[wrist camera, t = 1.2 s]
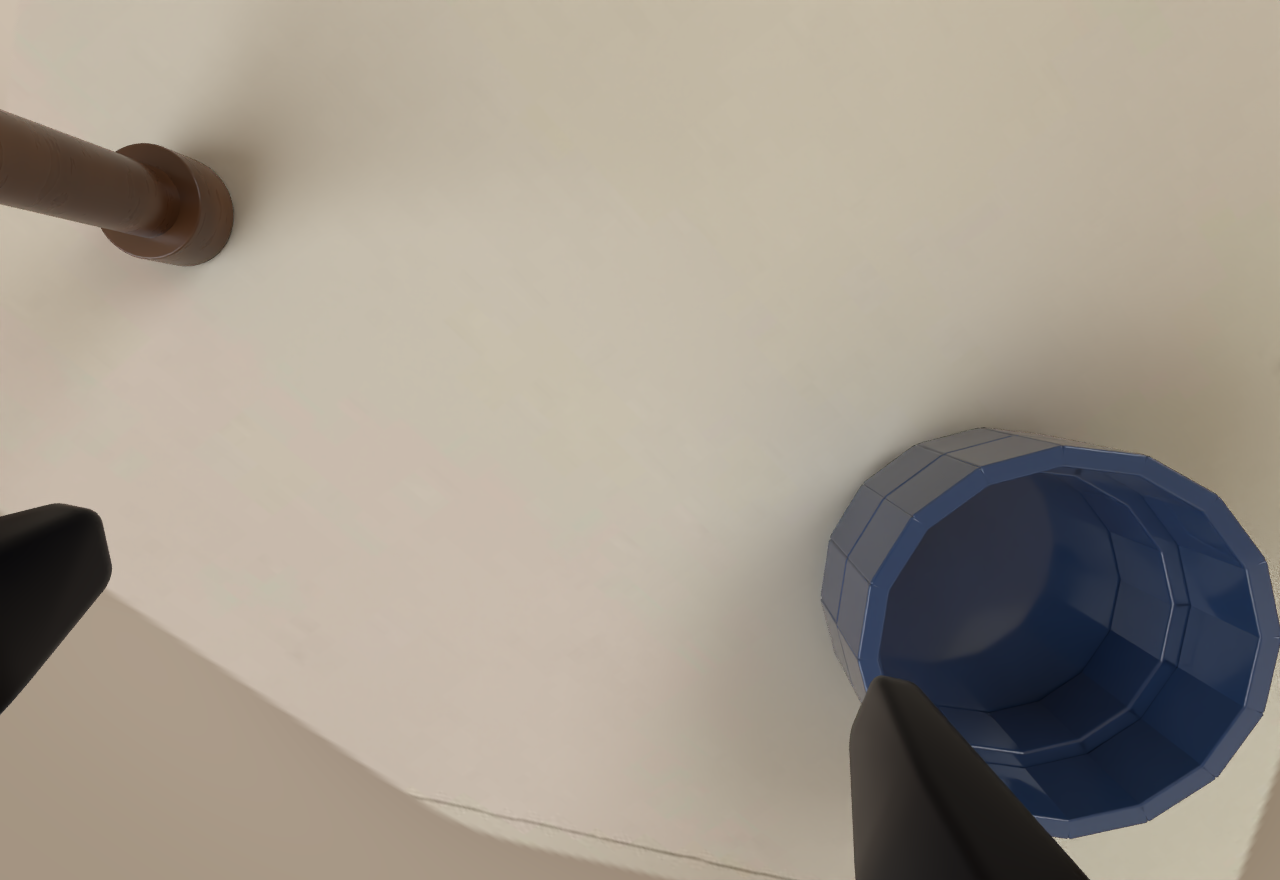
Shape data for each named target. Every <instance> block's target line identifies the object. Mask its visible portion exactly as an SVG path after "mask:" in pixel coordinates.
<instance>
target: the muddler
mask: <svg viewBox="0 0 1280 880" xmlns="http://www.w3.org/2000/svg"><path fill="white" fill-rule="evenodd" d="M0 204H1V205H6V206H10V207H14V208H19V209H23V210H27V211H32V212H36V213H40V214H44V215H49V216H53V217H57V218H62V219H66V220H70V221H75V222H79V223H83V224H88V225H92V226H96V227H101V229H102V231H103V232H104V234H105V235H106V236H107V238H108V239H109V240H110V241H111V242H112V243H113V244H114V245H115V246H117V247H118V248H119V249H120V250H122V251H124V252H125V253H127V254H129V255H131V256H134V257H137V258H141V259H147V260H152V261H157V262H162V263H167V264H173V265H178V266H194V265H198V264H201V263H204V262H206V261H208V260H210V259H211V258H213V257H214V256H215V255H217V254H218V253H219V252H220V251H221V250H222V248H223V247H224V245H225V244H226V242H227V240H228V239H229V236H230V233H231V230H232V226H233V206H232V201H231V197H230V195H229V192H228V190H227V188H226V186H225V185H224V183H223V182H222V180H221V179H220V178H219V177H218V175H217V174H216V173H215V172H214V171H212V170H211V169H210V168H209V167H207V166H206V165H204V164H202V163H200V162H198V161H196V160H193V159H191V158H188V157H186V156H184V155H181V154H179V153H176V152H174V151H172V150H169V149H167V148H164V147H162V146H159V145H155V144H149V143H140V144H133V145H129V146H126V147H123V148H121V149H119V150H118V151H116V152H114V151H111V150H108V149H106V148H103V147H100V146H98V145H95V144H92V143H89V142H87V141H84V140H81V139H79V138H76V137H73V136H71V135H68V134H65V133H63V132H60V131H57V130H55V129H52V128H49V127H46V126H44V125H41V124H38V123H36V122H33V121H30V120H28V119H25V118H22V117H20V116H17V115H14V114H12V113H9V112H6V111H3V110H1V109H0Z"/></svg>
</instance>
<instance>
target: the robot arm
mask: <svg viewBox="0 0 1280 880" xmlns="http://www.w3.org/2000/svg"><path fill="white" fill-rule="evenodd" d="M111 573H112V564H111V559H110V555H109V550H108V546H107V541H106V536H105V532H104V527H103V523H102V520H101V518H100V516H99V515H98V514H97V513H96V512H94V511H93V510H91V509H87V508H82V507H77V506H73V505H68V504H60V503H57V504H49V505H45V506H41V507H37V508H33V509H29V510H25V511H21V512H17V513H13V514H9V515H5V516H1V517H0V714H1V713H2V712H3V711H4V710H5V709H6V708H7V707H8V705H10V704H11V702H12V701H13V700H14V699H15V698H16V697H17V695H18V694H19V693H20V692H21V691H22V690H23V688H24V687H25V686H26V685H27V684H28V683H29V681H30V680H31V679H32V678H33V676H34V675H35V674H36V673H37V671H38V670H39V669H40V668H41V667H42V665H43V664H44V663H45V661H46V660H47V659H48V658H49V657H50V655H51V654H52V653H53V652H54V651H55V649H56V648H57V647H58V646H59V645H60V643H61V642H62V641H63V640H64V638H65V637H66V636H67V635H68V633H69V632H70V631H71V630H72V628H73V627H74V626H75V625H76V624H77V622H78V621H79V620H80V619H81V618H82V616H83V615H84V614H85V612H86V611H87V610H88V609H89V608H90V607H91V605H92V604H93V603H94V601H95V600H96V599H97V598H98V597H99V595H100V594H101V593H102V592H103V591H104V589H105V588H106V586H107V584H108V582H109V580H110V577H111ZM849 752H850V774H851V797H852V819H853V841H854V864H855V879H856V880H1090V879H1089V878H1088V877H1087V876H1086V875H1085V874H1084V873H1083V871H1082V870H1081V869H1080V868H1079V867H1078V866H1077V865H1076V864H1075V862H1074V861H1073V860H1072V859H1071V858H1070V857H1069V856H1068V855H1067V853H1066V852H1065V851H1064V850H1063V849H1062V848H1061V847H1060V846H1059V844H1058V843H1057V842H1056V841H1055V840H1054V839H1053V838H1052V837H1051V835H1050V834H1049V833H1048V832H1047V831H1046V830H1045V829H1044V828H1043V826H1042V825H1041V824H1040V823H1039V822H1038V821H1037V820H1036V818H1035V817H1034V816H1033V815H1032V814H1031V813H1030V812H1029V811H1028V809H1027V808H1026V807H1025V806H1024V805H1023V804H1022V803H1021V802H1020V800H1019V799H1018V798H1017V797H1016V796H1015V795H1014V794H1013V793H1012V791H1011V790H1010V789H1009V788H1008V787H1007V786H1006V785H1005V784H1004V782H1003V781H1002V780H1001V779H1000V778H999V777H998V776H997V775H996V773H995V772H994V771H993V770H992V769H991V768H990V767H989V766H988V764H987V763H986V762H985V761H984V760H983V759H982V758H981V757H980V755H979V754H978V753H977V752H976V751H975V750H974V749H973V748H972V746H971V745H970V744H969V743H968V742H967V741H966V740H965V739H964V737H963V736H962V735H961V734H960V733H959V732H958V731H957V730H956V728H955V727H954V726H953V725H952V724H951V723H950V722H949V721H948V719H947V718H946V717H945V716H944V715H943V714H942V713H941V712H940V710H939V709H938V708H937V707H936V706H935V705H934V704H933V703H932V701H931V700H930V699H929V698H928V697H927V696H926V695H925V694H924V692H923V691H922V690H921V689H920V688H919V687H918V686H917V685H916V684H914V683H913V682H910V681H907V680H903V679H898V678H893V677H888V676H883V675H880V676H877V677H875V678H874V679H873V680H872V682H871V683H870V685H869V688H868V690H867V692H866V695H865V697H864V699H863V702H862V704H861V706H860V709H859V711H858V713H857V716H856V718H855V720H854V723H853V725H852V729H851V733H850V742H849Z"/></svg>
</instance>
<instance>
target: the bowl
mask: <svg viewBox="0 0 1280 880" xmlns="http://www.w3.org/2000/svg"><path fill="white" fill-rule="evenodd" d="M830 538H831V539H830V540H829V545H828V552H827V558H826V565H825V571H824V578H823V585H822V591H821V603H822V607H823V611H824V614H825V618H826V622H827V626H828V630H829V633H830V637H831V641H832V645H833V648H834V652H835V655H836V657H837V659H838V661H839V663H840V664H841V666H842V668H843V670H844V672H845V674H846V676H847V677H848V679H849V681H850V683H851V685H852V687H853V689H854V691H855V693H856V694H857V696H858V698H859V700H860V702H861V704H862V702H863V699H864V697H865V695H866V692H867V690H868V688H869V685H870V683H871V682H872V680H873V679H874V678H875V677H877V676H880V675H883V676H888V677H893V678H898V679H903V680H907V681H910V682H913V683H914V684H916V685H917V686H918V687H919V688H920V689H921V690H922V691H923V692H924V694H925V695H926V696H927V697H928V698H929V699H930V700H931V701H932V703H933V704H934V705H935V706H936V707H937V708H938V709H939V710H940V712H941V713H942V714H943V715H944V716H945V717H946V718H947V719H948V721H949V722H950V723H951V724H952V725H953V726H954V727H955V728H956V730H957V731H958V732H959V733H960V734H961V735H962V736H963V737H964V739H965V740H966V741H967V742H968V743H969V744H970V745H971V746H972V748H973V749H974V750H975V751H976V752H977V753H978V754H979V755H980V757H981V758H982V759H983V760H984V761H985V762H986V763H987V764H988V766H989V767H990V768H991V769H992V770H993V771H994V772H995V773H996V775H997V776H998V777H999V778H1000V779H1001V780H1002V781H1003V782H1004V784H1005V785H1006V786H1007V787H1008V788H1009V789H1010V790H1011V791H1012V793H1013V794H1014V795H1015V796H1016V797H1017V798H1018V799H1019V800H1020V802H1021V803H1022V804H1023V805H1024V806H1025V807H1026V808H1027V809H1028V811H1029V812H1030V813H1031V814H1032V815H1033V816H1034V817H1035V818H1036V820H1037V821H1038V822H1039V823H1040V824H1041V825H1042V826H1043V828H1044V829H1045V830H1046V831H1047V832H1048V833H1049V834H1050V835H1051V837H1058V838H1065V839H1068V838H1069V839H1073V838H1077V837H1082V836H1087V835H1091V834H1096V833H1101V832H1105V831H1110V830H1114V829H1119V828H1124V827H1128V826H1133V825H1137V824H1142V823H1146V822H1147V821H1150V820H1152V819H1154V818H1155V817H1157V816H1158V815H1160V814H1161V813H1163V812H1165V811H1166V810H1168V809H1169V808H1171V807H1172V806H1174V805H1176V804H1177V803H1179V802H1180V801H1182V800H1183V799H1185V798H1187V797H1188V796H1190V795H1191V794H1193V793H1194V792H1196V791H1198V790H1199V789H1201V788H1202V787H1204V786H1205V785H1207V784H1209V783H1210V782H1212V781H1213V780H1215V777H1218V776H1219V775H1220V773H1221V772H1222V771H1223V769H1224V768H1225V767H1226V765H1227V764H1228V763H1229V761H1230V760H1231V758H1232V757H1233V756H1234V754H1235V753H1236V752H1237V750H1238V749H1239V748H1240V746H1241V745H1242V743H1243V742H1244V741H1245V739H1246V738H1247V737H1248V735H1249V734H1250V732H1251V731H1252V730H1253V728H1254V727H1255V726H1256V724H1257V723H1258V722H1259V720H1260V719H1261V717H1262V716H1263V712H1264V711H1265V707H1266V703H1267V699H1268V694H1269V690H1270V686H1271V682H1272V677H1273V673H1274V669H1275V665H1276V660H1277V656H1278V652H1279V648H1280V624H1279V619H1278V615H1277V610H1276V605H1275V600H1274V595H1273V590H1272V585H1271V580H1270V575H1269V570H1268V565H1267V562H1266V561H1265V557H1264V556H1263V555H1262V553H1261V552H1260V551H1259V549H1258V548H1257V547H1256V545H1255V544H1254V543H1253V541H1252V540H1251V539H1250V537H1249V536H1248V534H1247V533H1246V532H1245V530H1244V529H1243V528H1242V526H1241V525H1240V524H1239V522H1238V521H1237V520H1236V518H1235V517H1234V515H1233V514H1232V513H1231V511H1230V510H1229V509H1228V507H1227V506H1226V505H1225V503H1224V502H1223V501H1222V499H1221V498H1220V497H1218V495H1217V494H1215V493H1214V492H1212V491H1210V490H1208V489H1206V488H1205V487H1203V486H1201V485H1199V484H1198V483H1196V482H1194V481H1192V480H1191V479H1189V478H1187V477H1185V476H1183V475H1182V474H1180V473H1178V472H1176V471H1175V470H1173V469H1171V468H1169V467H1167V466H1166V465H1164V464H1162V463H1160V462H1159V461H1157V460H1155V459H1153V458H1151V457H1150V456H1146V455H1144V454H1139V453H1134V452H1129V451H1124V450H1119V449H1114V448H1109V447H1104V446H1099V445H1094V444H1089V443H1084V442H1079V441H1074V440H1069V439H1064V438H1059V437H1054V436H1049V435H1044V434H1036V433H1027V432H1019V431H1010V430H1002V429H994V428H985V427H982V428H975V429H971V430H968V431H964V432H960V433H956V434H953V435H949V436H945V437H941V438H938V439H934V440H930V441H926V442H923V443H919V444H918V445H917V446H916V445H914V446H912V447H911V448H910V449H908V450H907V451H906V452H904V453H903V454H902V455H900V456H899V457H898V458H896V459H895V460H893V461H892V462H891V463H889V464H888V465H887V466H885V467H884V468H883V469H881V470H880V471H879V472H877V473H876V474H875V475H873V476H872V477H870V478H869V479H868V480H866V481H865V482H864V484H863V485H861V487H860V488H859V490H858V492H857V493H856V495H855V497H854V498H853V500H852V502H851V503H850V505H849V506H848V508H847V510H846V511H845V513H844V515H843V516H842V518H841V519H840V521H839V523H838V524H837V526H836V528H835V529H834V531H833V533H832V534H831V536H830Z"/></svg>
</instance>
